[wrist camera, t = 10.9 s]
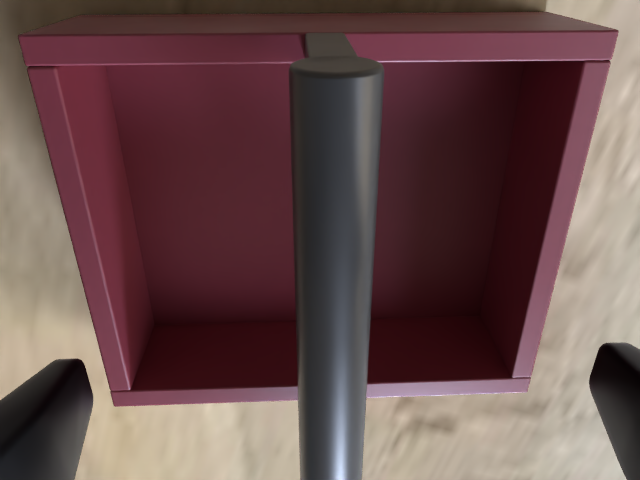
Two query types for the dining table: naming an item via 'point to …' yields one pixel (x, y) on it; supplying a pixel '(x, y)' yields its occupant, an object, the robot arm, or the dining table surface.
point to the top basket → (318, 201)
